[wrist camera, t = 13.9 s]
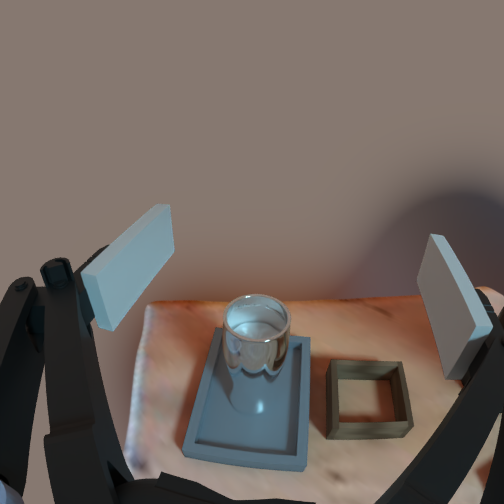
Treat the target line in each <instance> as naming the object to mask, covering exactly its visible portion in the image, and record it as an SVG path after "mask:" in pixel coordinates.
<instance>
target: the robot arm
mask: <svg viewBox="0 0 504 504" xmlns="http://www.w3.org/2000/svg"><path fill="white" fill-rule="evenodd" d="M174 251H175V249H174V241H173V232H172V222H171V212H170V205H167V204H156V205H155V206H154V207H152V208H151V209H150V210H149V211H148V212H146V213H145V214H144V215H143V216H142V217H141V218H140V219H138V220H137V221H136V222H135V223H134V224H133V225H131V226H130V227H129V228H128V229H127V230H126V231H125V232H124V233H123V234H121V235H120V236H119V237H118V238H117V239H116V240H115V241H114V242H113V243H112V244H110V245H107V246H105V247H103V248H101V249H99V250H98V251H97V252H96V253H94V254H93V255H92V257H90V258H89V259H88V260H87V262H85V263H84V264H83V265H82V266H81V267H79V268H78V270H76V271H75V272H74V273H73V272H72V268H71V265H70V262H69V260H68V259H67V258H61V257H60V258H55V259H52V260H50V261H48V262H46V263H45V264H44V265H43V266H42V267H41V269H40V272H41V275H42V278H43V281H44V283H45V286H46V287H36V285H35V283H34V280H33V278H31V277H21V278H19V279H17V280H15V281H14V282H13V283H12V284H11V285H10V286H9V288H8V290H7V292H6V294H5V296H4V298H3V300H2V302H1V303H0V504H24V502H23V499H22V496H23V492H24V488H25V483H26V476H27V468H28V457H29V449H30V440H31V432H32V426H33V420H34V413H35V408H36V402H37V397H38V392H39V387H40V382H41V377H42V373H43V368H44V364H45V379H46V393H47V405H48V415H49V424H50V434H48V435H45V436H44V449H45V456H46V462H47V468H48V473H49V479H50V484H51V488H52V493H53V498H54V502H55V504H316V503H314V502H303V501H293V500H285V499H277V498H276V499H261V500H232V499H229V498H227V497H225V496H223V495H221V494H219V493H217V492H215V491H213V490H211V489H209V488H207V487H205V486H203V485H201V484H199V483H197V482H194V481H191V480H187V479H184V478H180V477H177V476H174V475H170V474H167V473H164V472H161V474H160V476H159V478H158V479H139V480H134V478H133V476H132V474H131V472H130V470H129V468H128V466H127V464H126V462H125V459H124V456H123V453H122V450H121V447H120V444H119V441H118V437H117V434H116V431H115V428H114V424H113V420H112V417H111V413H110V409H109V406H108V402H107V398H106V394H105V389H104V385H103V381H102V377H101V372H100V367H99V362H98V357H97V353H96V347H95V342H94V336H93V331H92V327H91V324H90V322H91V321H92V320H93V318H94V317H95V319H96V322H97V324H98V327H99V328H102V329H105V330H109V331H114V330H115V329H116V327H117V326H118V324H119V323H120V322H121V320H122V319H123V318H124V316H125V315H126V314H127V312H128V311H129V310H130V308H131V307H132V306H133V304H134V303H135V302H136V300H137V299H138V298H139V296H140V295H141V294H142V292H143V291H144V290H145V288H146V287H147V286H148V285H149V283H150V282H151V281H152V279H153V278H154V277H155V275H156V274H157V273H158V272H159V270H160V269H161V268H162V266H163V265H164V264H165V263H166V261H167V260H168V259H169V258H170V256H171V255H172V254H173V253H174ZM416 281H417V284H418V287H419V290H420V293H421V296H422V299H423V302H424V305H425V308H426V311H427V314H428V318H429V321H430V324H431V328H432V331H433V334H434V338H435V341H436V345H437V349H438V352H439V356H440V360H441V364H442V368H443V372H444V376H445V380H462V383H463V385H464V387H463V389H462V390H461V391H460V393H459V394H458V395H459V396H458V398H457V399H456V401H455V403H454V404H453V406H452V407H451V409H450V410H449V412H448V413H447V415H446V416H445V418H444V419H443V421H442V422H441V424H440V425H439V426H438V428H437V429H436V431H435V432H434V433H433V435H432V436H431V438H430V439H429V440H428V442H427V443H426V444H425V446H424V447H423V448H422V449H421V451H420V452H419V453H418V455H417V456H416V457H415V458H414V460H413V461H412V462H411V463H410V464H409V466H408V467H407V468H406V469H405V470H404V472H403V473H402V474H401V475H400V476H399V477H398V479H397V480H396V481H395V482H394V483H393V484H392V485H391V486H390V488H389V489H388V490H387V491H386V492H385V493H384V494H383V495H382V496H381V497H380V498H379V499H378V500H377V501H376V502H375V503H374V504H448V502H449V501H450V500H451V498H452V497H453V495H454V494H455V492H456V491H457V489H458V488H459V486H460V485H461V483H462V481H463V480H464V478H465V477H466V475H467V473H468V472H469V470H470V468H471V467H472V465H473V463H474V461H475V460H476V458H477V456H478V454H479V453H480V451H481V449H482V447H483V445H484V443H485V441H486V439H487V437H488V435H489V433H490V431H491V429H492V427H493V425H494V423H495V421H496V419H497V417H498V415H499V413H502V419H501V424H500V430H499V435H498V440H497V444H496V449H495V453H494V457H493V461H492V465H491V469H490V473H489V476H488V480H487V483H486V487H485V490H484V493H483V496H482V499H481V502H480V504H504V307H503V309H502V310H501V312H500V314H499V315H498V317H497V315H496V313H494V309H493V307H492V306H491V304H490V302H489V300H488V298H487V296H486V295H485V294H484V293H483V292H482V291H481V290H480V289H474V287H473V285H472V283H471V282H470V280H469V278H468V276H467V274H466V273H465V271H464V269H463V267H462V266H461V264H460V262H459V260H458V259H457V257H456V255H455V254H454V252H453V250H452V249H451V247H450V245H449V244H448V242H447V240H446V239H445V237H444V236H441V235H435V234H430V236H429V240H428V244H427V247H426V251H425V255H424V258H423V261H422V264H421V267H420V270H419V274H418V277H417V280H416Z"/></svg>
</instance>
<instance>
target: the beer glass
mask: <svg viewBox="0 0 504 504" xmlns="http://www.w3.org/2000/svg"><path fill="white" fill-rule="evenodd" d="M290 323H291V315H290V312H289V310H288V308H287V307H286V306H285V304H283V303H282V302H281V301H280V300H278V299H276V298H273V297H271V296H268V295H263V294H249V295H244V296H241V297H238V298H237V299H234V300H233V301H232V302H230V303H229V304H228V305H227V307H226V308H225V310H224V314H223V331H222V347H223V355H224V359H225V363H226V366H227V369H228V372H229V375H230V377H231V380H232V384H231V387H230V390H229V399H230V402H231V404H232V405H233V407H234V408H235V409H237V410H238V411H240V412H241V413H244V414H248V415H258V414H262V413H264V412H266V411H268V410H269V409H270V408H271V407H272V406H273V404H274V403H275V400H276V389H275V382H276V380H277V378H278V376H279V374H280V372H281V370H282V368H283V366H284V363H285V361H286V358H287V353H288V349H289V341H290Z"/></svg>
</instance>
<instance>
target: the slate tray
mask: <svg viewBox="0 0 504 504" xmlns="http://www.w3.org/2000/svg"><path fill="white" fill-rule="evenodd" d="M222 331H223V328H217V327H216V328H215V332H214V335H213V339H212V342H211V346H210V350H209V353H208V357H207V360H206V364H205V367H204V371H203V374H202V378H201V382H200V385H199V389H198V392H197V396H196V400H195V403H194V407H193V410H192V414H191V418H190V421H189V425H188V429H187V432H186V436H185V440H184V443H183V447H182V451H183V454H184V456H185V457H188V458H193V459H198V460H204V461H209V462H215V463H221V464H228V465H235V466H242V467H250V468H259V469H269V470H281V471H297V472H303V471H304V469H305V468H306V466H307V451H308V429H309V399H310V337H301V336H290V341H289V349H288V353H287V358H286V361H285V363H284V366H283V368H282V370H281V372H280V374H279V376H278V378H277V380H276V382H275V389H276V400H275V403H274V404H273V406H272V407H271V408H270V409H269V410H268V411H266V412H264V413H262V414H258V415H248V414H244V413H241V412H240V411H238V410H237V409H235V408H234V407H233V405H232V404H231V402H230V399H229V390H230V387H231V384H232V380H231V377H230V375H229V372H228V369H227V366H226V363H225V359H224V355H223V347H222Z"/></svg>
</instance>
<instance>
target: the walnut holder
mask: <svg viewBox="0 0 504 504" xmlns="http://www.w3.org/2000/svg"><path fill="white" fill-rule="evenodd" d="M338 379H354V380H390V384H391V391H392V397H393V404H394V411H395V419H396V422H374V423H339V400H338ZM413 427H414V423H413V417H412V411H411V405H410V399H409V394H408V389H407V384H406V378H405V374H404V369H403V364H402V362H390V361H354V360H334V359H331V361H330V363H329V366H328V369H327V372H326V439H333V440H362V439H389V438H403V437H404V436H405V435H406V434H407V433H408V432H409V431H410V430H411V429H412V428H413Z"/></svg>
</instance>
